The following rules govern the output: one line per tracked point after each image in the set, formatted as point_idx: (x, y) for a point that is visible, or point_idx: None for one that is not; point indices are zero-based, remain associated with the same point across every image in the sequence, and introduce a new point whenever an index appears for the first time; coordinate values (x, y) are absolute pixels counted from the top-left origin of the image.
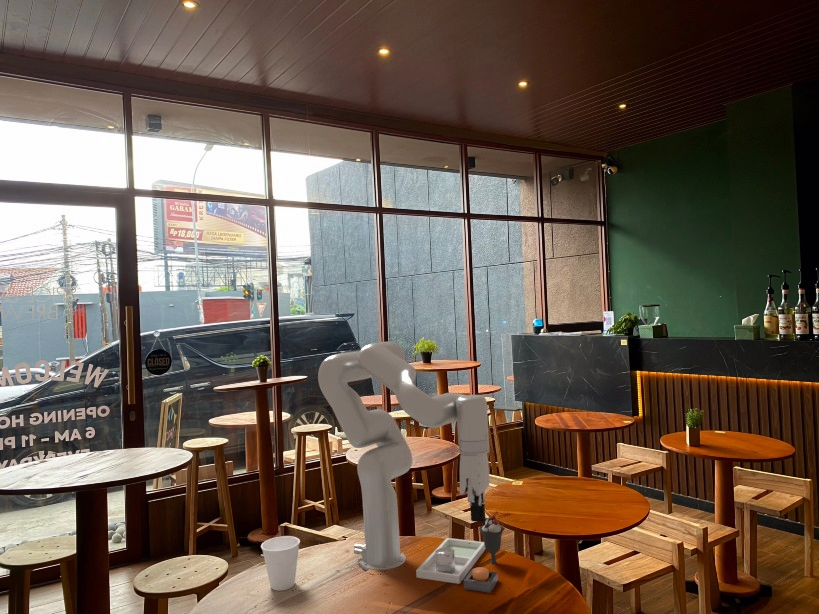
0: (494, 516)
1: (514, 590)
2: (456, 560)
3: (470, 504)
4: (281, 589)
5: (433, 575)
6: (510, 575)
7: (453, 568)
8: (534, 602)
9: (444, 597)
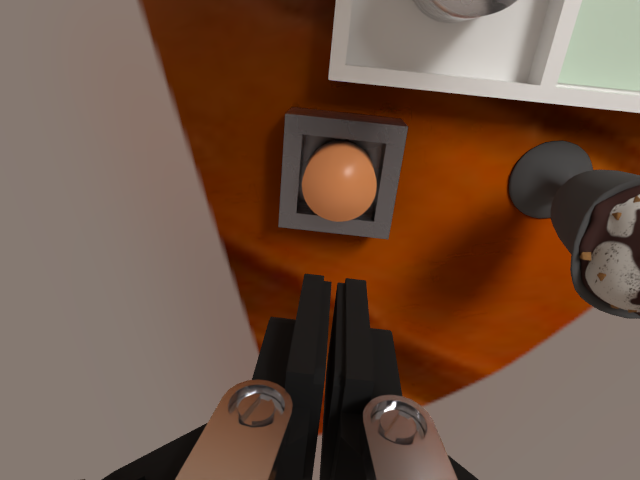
0: None
1: (350, 278)
2: (555, 3)
3: (224, 400)
4: None
5: None
6: (467, 253)
7: (438, 18)
8: None
9: (233, 31)
